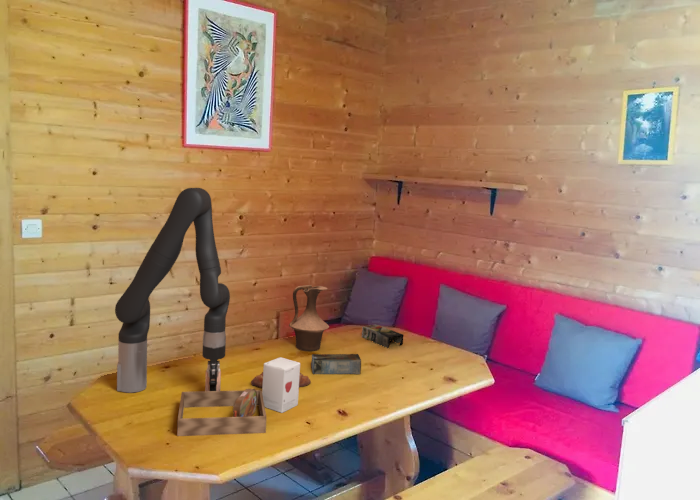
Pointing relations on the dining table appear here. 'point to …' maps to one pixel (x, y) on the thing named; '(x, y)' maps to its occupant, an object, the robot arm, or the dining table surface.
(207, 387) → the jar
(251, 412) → the tin
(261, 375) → the pastry
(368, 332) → the dark slotted box
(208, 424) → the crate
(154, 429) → the dining table surface
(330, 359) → the beverage carton
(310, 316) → the pitcher
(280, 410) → the supplement box
